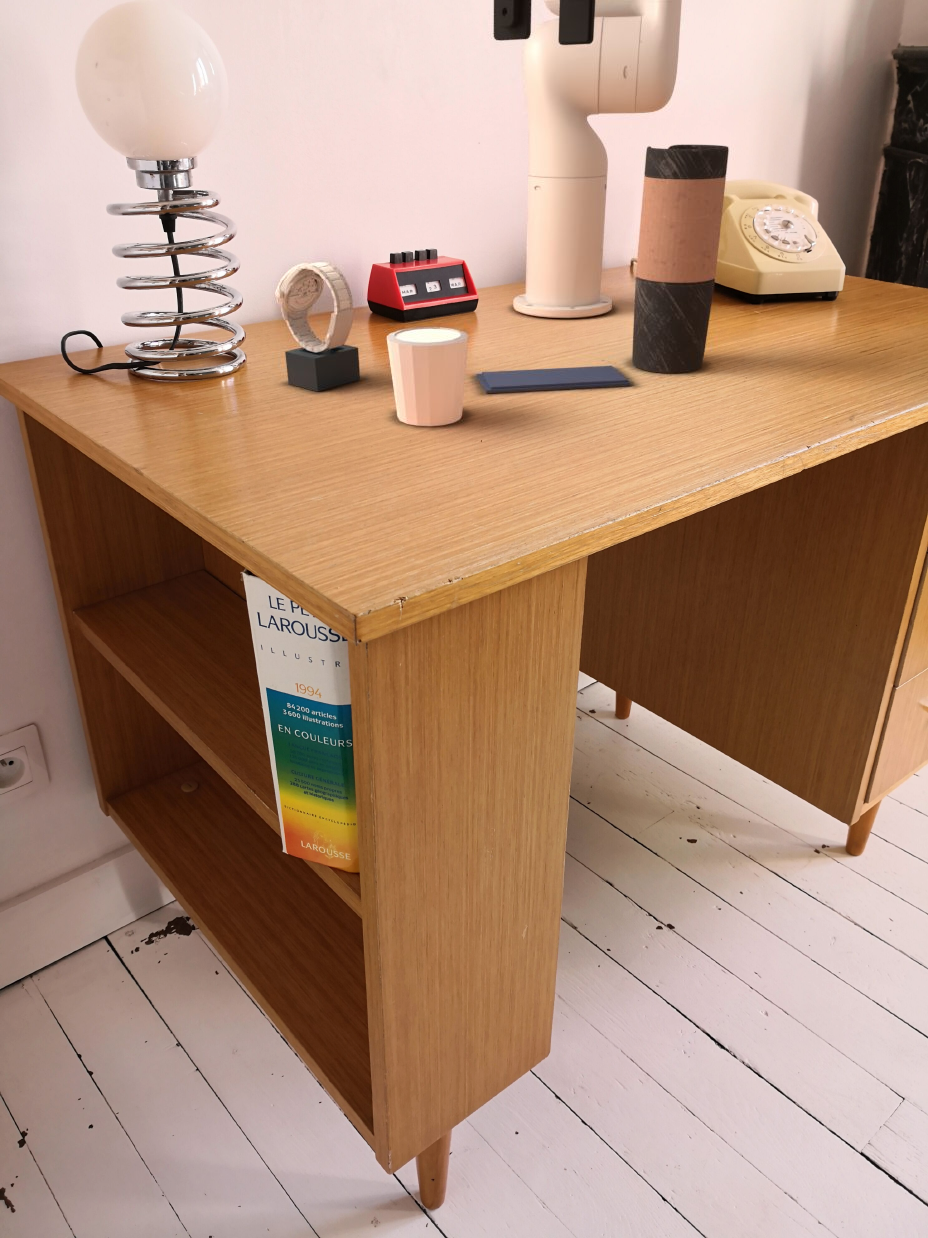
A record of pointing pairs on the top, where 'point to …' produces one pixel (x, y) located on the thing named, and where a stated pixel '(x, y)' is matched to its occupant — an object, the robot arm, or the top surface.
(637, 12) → the robot arm
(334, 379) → the watch
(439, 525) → the top surface
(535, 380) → the blue flat rectangular slab
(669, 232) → the travel mug
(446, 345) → the cream tapered cup
